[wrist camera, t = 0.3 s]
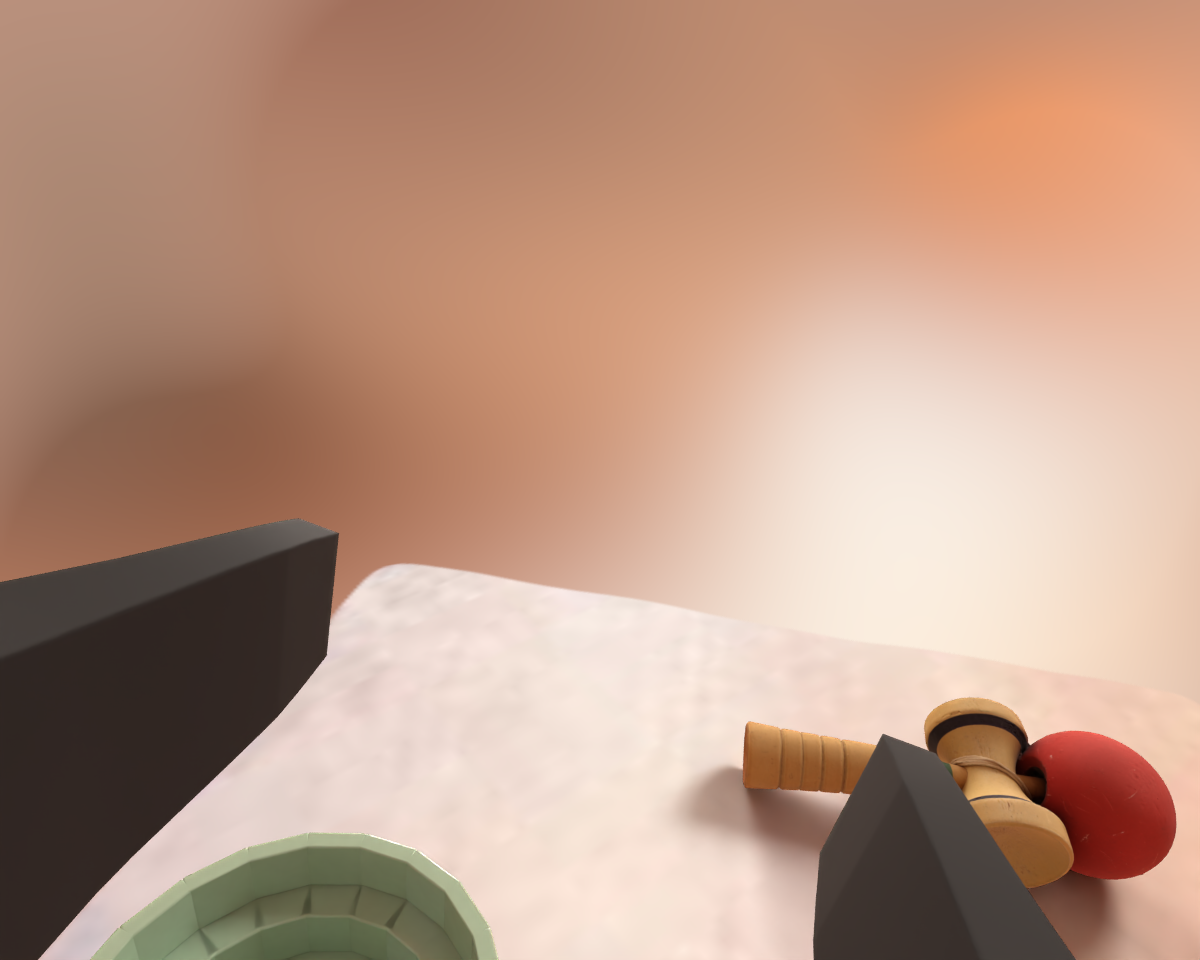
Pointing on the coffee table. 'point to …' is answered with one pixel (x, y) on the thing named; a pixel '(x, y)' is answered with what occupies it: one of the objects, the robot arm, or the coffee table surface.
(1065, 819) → the kendama
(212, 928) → the bowl
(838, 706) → the coffee table surface
